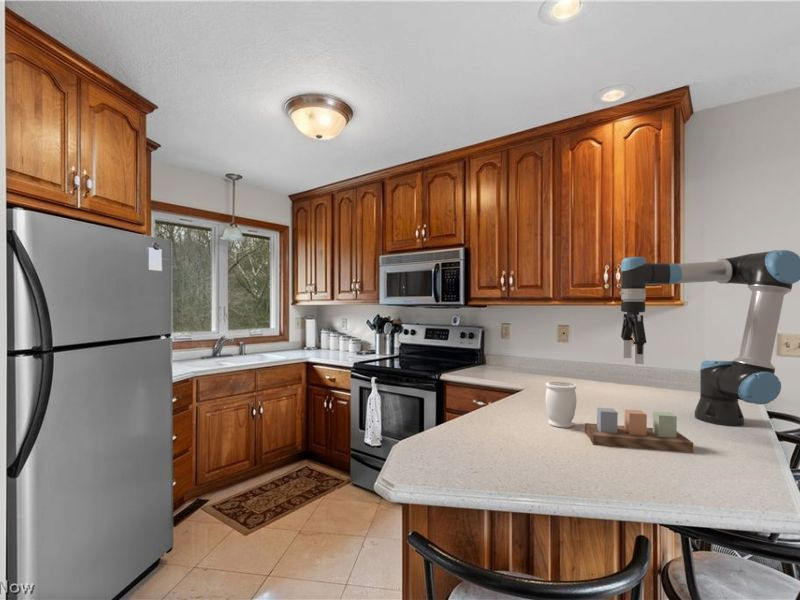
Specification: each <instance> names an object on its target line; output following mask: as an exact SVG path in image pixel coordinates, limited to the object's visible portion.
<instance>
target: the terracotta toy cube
mask: <svg viewBox="0 0 800 600" xmlns="http://www.w3.org/2000/svg"><path fill="white" fill-rule="evenodd" d="M647 417H648V414H647V413H645V412H644V411H643V410H641V409H624V425H623V426H624V431H625V432H626V433H627V434H629V435H642V436H646V432H647V428H648V427H647V426H648V425H647V421H648V418H647Z"/></svg>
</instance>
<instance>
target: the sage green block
mask: <svg viewBox="0 0 800 600" xmlns="http://www.w3.org/2000/svg"><path fill="white" fill-rule="evenodd" d="M677 419H678V416H677V415H675V414H674V413H672V412H670V411H656V410H653V411H652V428H653V433H654V434H655V435H656V436H658V437H669V438H676V431H677V426H678V425H677V423H678V422H677ZM677 432H678V431H677Z"/></svg>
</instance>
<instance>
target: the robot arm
mask: <svg viewBox="0 0 800 600" xmlns="http://www.w3.org/2000/svg"><path fill="white" fill-rule="evenodd" d="M620 265H621V266H620V272H621V274H620V275H621V276H620V278H621V279H620V286H621V288H620V289H621V290H620V291H619V295H620V296H621V297H620V298H621V299H620V300H621V303H620V311H621V312H622V313H623V320H622V321H623V322H622V326H621V327H622V328H621V334H620V338H621V339H622V359H632V344H633V364H634V365H639V364H640V365H644V362H645V361H644V360H645V359H644V356H645V354H644V351H645V350H644V349H645V347H644V345H645V344H647V338H646V330H645V324H644V316H643V314H642V315H641V314H640V313H645V312H646V302H645V300H646V297H647V295H646V294H647V293H646V286H657V285H666V286H668V285H676V284H691V283H706V282H707V283H708V282H717V283H718V284H738V285H747V288H748V289H749V290H750V291H751V295H750V300H749V306H748V310H747V315H746V321H745V326H744V330H743V335H742V340H741V344H740V350H739V354H738V356H737V357H736V358H734V359H733V360H732V361H731V360H703V361H702V362H701V363H700V369H699V373H700V381H699V382H700V386H699V387H700V389H699V390H700V392H699V393H700V395H699V397H700V398H699V400H698V403H697V405H696V407H695V408H694V417H695V418H696V419H697V420H700V421H703V422H706V423H711V424H715V425H716V424H717V425H721V426H733V427H734V426H735V427H736V426H743V425H744V424H745V418H744V415H743V412H742V410H741V406H740V404H739V400H740V401H743V402H745V403H749V404H755V405H766V404H770V403H771V402H773V401H775V399H777V398H778V396H779V395H780V393H781V391H782V382H781V381H780V378H779V377H778V376H777V374H776V375H775V371H776V367H775V366H774V365H773V364H772V357H773V352H774V346H775V342H776V338H777V332H778V327H779V323H780V318H781V317H780V316H781V313H782V308H783V304H784V303H783V302H784V299H785V295H787V294H788V293H791V292H792V289H793V284H796V283H798V282H799V281H800V256H799V254H797V253H796V252H794V251H791V250H788V249H782V250H781V249H780V250H778V249H773V250H771V251H762V252H755V253H747V254H743V255H739V256H738V255H737V256H733V257H729V258H728V257H727V258H718V259H717V260H716V261H706V262H705V261H704V262H693V263H692V262H690V263H689V262H687V263H686V262H684V263H674V262H673V263H672V262H671V263H670V262H666V263H663V262H662V263H661V262H659V263H658V262H656V263H655V262H653V263H652V262H651V263H650V262H647V260H646V258H645V257H644V256H630V257H625V258H623V259H622V261H621V264H620ZM632 335H633V336H632ZM632 337H633V338H634V341H633V338H632ZM632 341H633V343H632Z"/></svg>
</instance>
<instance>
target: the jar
mask: <svg viewBox="0 0 800 600" xmlns="http://www.w3.org/2000/svg"><path fill="white" fill-rule="evenodd" d="M545 386H546V391H545V399H544V400H545V407H546V414H547V416H548V418H549V420H547V423H548V425H550V426H552V427H555V428H563V429H564V428H565V429H566V428H567V429H568V428H572V427H573V426H574V424H573V422H572V421H573V419H574V418H575V414H576V408H577V394H576V389H577V384H574V383H570V382H566V381H548V382H545Z"/></svg>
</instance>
